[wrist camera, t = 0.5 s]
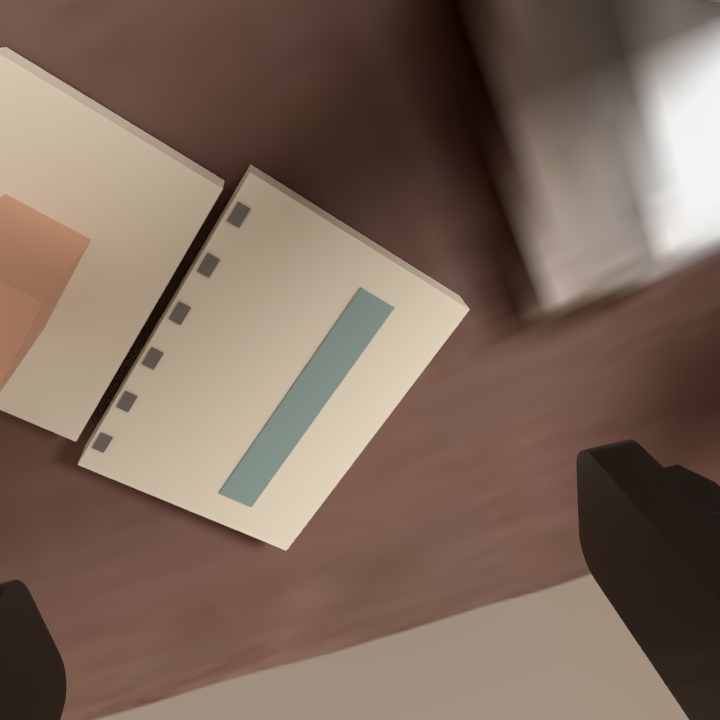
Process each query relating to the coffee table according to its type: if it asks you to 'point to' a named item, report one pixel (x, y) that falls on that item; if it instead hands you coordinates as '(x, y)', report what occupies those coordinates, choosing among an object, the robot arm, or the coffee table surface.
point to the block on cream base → (81, 242)
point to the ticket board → (271, 365)
